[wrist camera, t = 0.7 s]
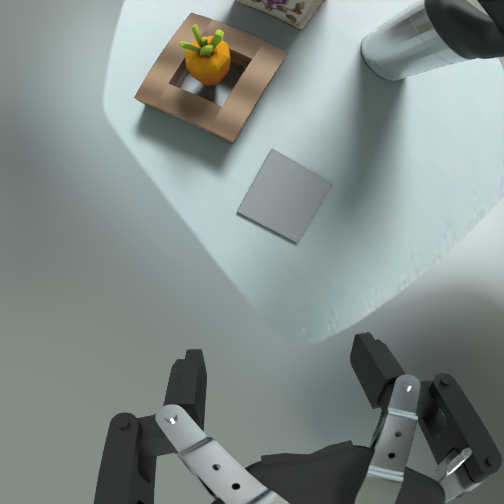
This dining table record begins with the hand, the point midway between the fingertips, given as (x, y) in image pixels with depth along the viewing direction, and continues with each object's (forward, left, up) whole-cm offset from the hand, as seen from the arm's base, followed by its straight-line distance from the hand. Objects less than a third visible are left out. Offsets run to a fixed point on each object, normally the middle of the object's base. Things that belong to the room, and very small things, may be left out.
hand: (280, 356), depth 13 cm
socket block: (-16, -14, -27) cm, 35 cm away
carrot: (-16, -14, -28) cm, 35 cm away
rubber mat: (-6, +3, -27) cm, 28 cm away
